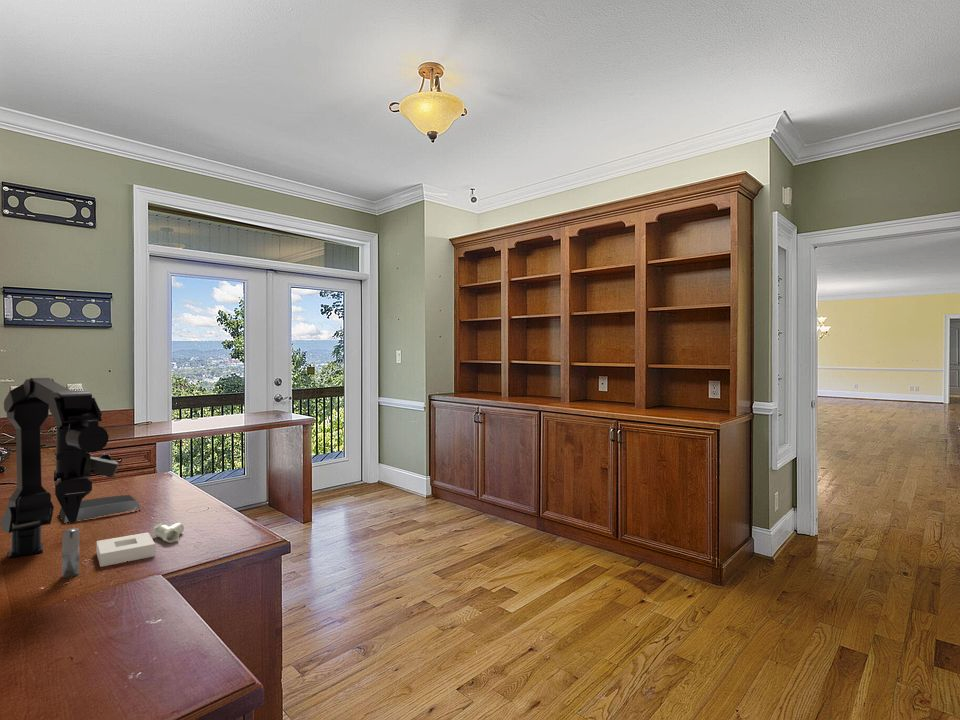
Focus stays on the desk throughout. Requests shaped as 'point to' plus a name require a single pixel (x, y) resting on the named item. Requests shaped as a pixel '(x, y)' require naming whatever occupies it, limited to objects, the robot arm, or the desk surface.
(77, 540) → the metal peg
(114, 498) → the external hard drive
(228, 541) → the desk surface
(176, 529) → the pipe fitting
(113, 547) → the hole block
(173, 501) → the desk surface
